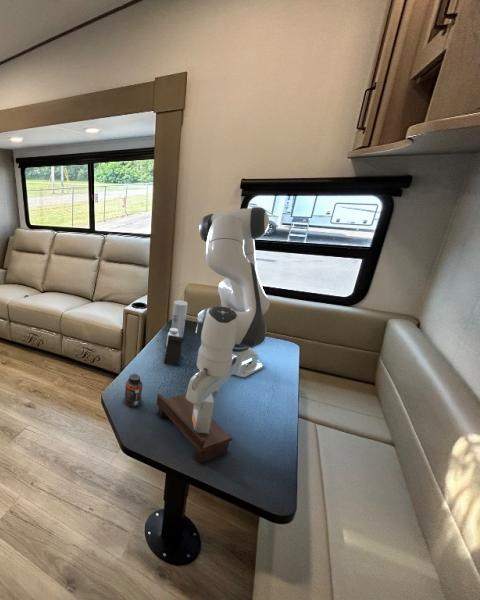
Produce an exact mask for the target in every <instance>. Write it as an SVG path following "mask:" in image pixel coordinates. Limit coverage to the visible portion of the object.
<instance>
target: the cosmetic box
mask: <svg viewBox="0 0 480 600" xmlns="http://www.w3.org/2000/svg"><path fill="white" fill-rule="evenodd" d="M201 404H203V407H202V409H201V410H200V411H197V410H196V409H195V408H194V410H193V416H192V421H193V425H194V430H195V431H196V432H197V433H205V434H209V429H210V423H211V418H212V419H213V412H214V406H215V400H214V396H212V394H211V395H210V396H208V397H207V398H206V399H205V400H204V401H202V402H201ZM194 406H195V405H194Z"/></svg>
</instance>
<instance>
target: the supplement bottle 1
mask: <svg viewBox="0 0 480 600" xmlns="http://www.w3.org/2000/svg"><path fill="white" fill-rule="evenodd" d="M142 393H143V382H142V380H141V375H139V374H137V373H131V374H129V375H128V379H127V380H126V381H125V393H124V402H125V404H126V405H127V406H129V407H132V408H133V407H134V408H135V407H138V406H140V405H141V402H142Z"/></svg>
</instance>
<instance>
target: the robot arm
mask: <svg viewBox="0 0 480 600" xmlns="http://www.w3.org/2000/svg"><path fill="white" fill-rule="evenodd" d="M269 226H270V218H269V215H268V213H267V211H266V209H264V208H263V207H255V206H254V207H251V208H235V209H231V210H226V211H221V212H217V213H209V214H207V215H204V217H203V218H201V220H200V222H199V231H198V232H199V235H200V239H201V240H202V241H203V242H205V243H206V245H205V262H206V264H207V266H208V267H209V268H210V269H211V270H212V271H213V272H215V273H216V274H217V275H219V276H222V277H225V278H224V279H222V280H221V281H220V283H219V284H218V287H217V292H218V295H219V298H220V305H219V306H218V305H216V306H212V307H206V308H204V309H203V310H201V311H200V312H199V313H198V314H197V325H196V327H195V334H196V335H197V337H198V339H200V341H201V342H200V343H201V344H200V346H199V348H198V353H197V358H196V367H197V369H198V370H199V371H198V372H197V373H195V374H194V375H193V376H191V378H190V379H189V382H188V386H187V390H186V393H185V394H186V399H187V401H189V402H191V403H192V404H194V405H195V406H194V408H195V409H196V410H197V411H200V410H201V409H202V407H203V404H201V402H202V401H204V400H205V399H206V398H207V397H208V396H210V395H211V394H212V396H213V398H217V397H218V396H219V393H220V390H221V388H222V386H223V385H224V384H225V383H226V382H227V381H229V379H231V376H237V377H240V378H247V377H248V376H250V375H252V374H254V373H256V372H257V371H259V370H261V369H263V367H264V365H263V363H262V362H261V361H260V360H259V354H258V353H257V351H256V350H254V349H253V348H254V347H257V346H259V345H260V344H262V343H263V342H264V341H265V339H266V336H268V335H269V334H268V333H267V325H266V320H265V316H264V314H266V312H267V311H268V310H269V308H270V303H271V301H270V299H269V297H268V295H267V294H266V293H265V290H264V289H263V285H262V283H261V279H260V277H259V274H258V268H257V262H256V261H257V260H256V245H255V244H256V243H255V240H257V239H260V238H262V237H263V236H265V235H266V234H267V231H268V229H269Z"/></svg>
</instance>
